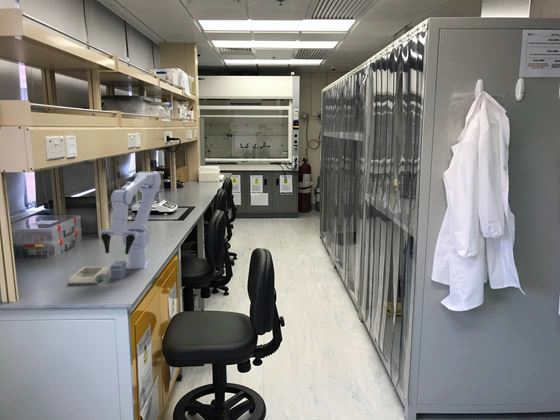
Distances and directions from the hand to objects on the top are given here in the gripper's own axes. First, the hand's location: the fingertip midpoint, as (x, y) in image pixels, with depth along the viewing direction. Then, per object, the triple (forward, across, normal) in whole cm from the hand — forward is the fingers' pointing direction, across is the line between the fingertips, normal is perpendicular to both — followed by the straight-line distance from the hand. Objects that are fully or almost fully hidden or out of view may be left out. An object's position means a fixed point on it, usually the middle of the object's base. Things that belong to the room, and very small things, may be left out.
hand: (117, 253), depth 176 cm
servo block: (+9, 0, +4) cm, 10 cm away
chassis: (+10, -11, +2) cm, 15 cm away
